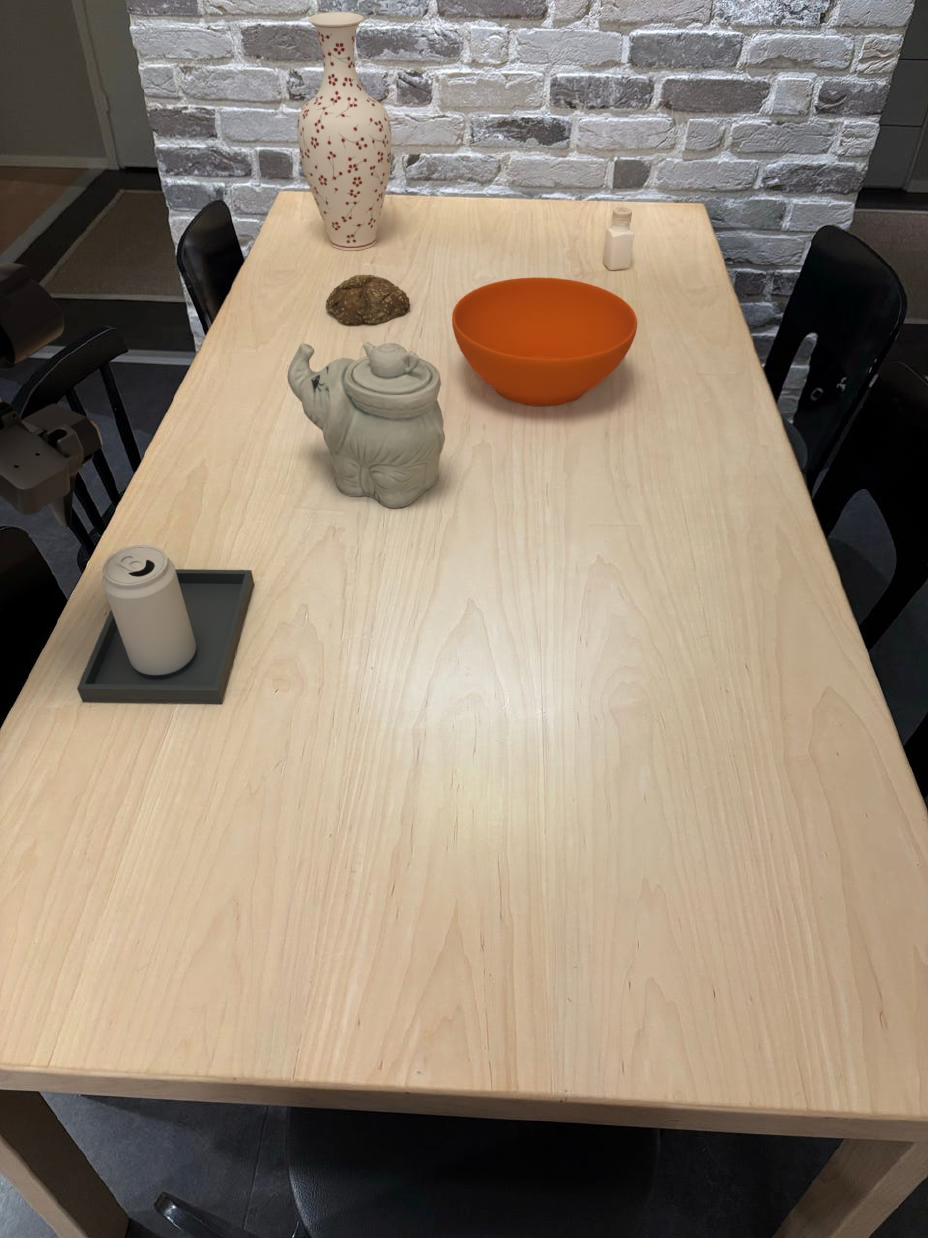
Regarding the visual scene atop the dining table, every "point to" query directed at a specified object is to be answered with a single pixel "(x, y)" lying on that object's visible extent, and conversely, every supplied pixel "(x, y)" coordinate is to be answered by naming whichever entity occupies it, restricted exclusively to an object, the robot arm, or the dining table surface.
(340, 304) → the bread roll
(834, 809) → the dining table surface
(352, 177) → the vase
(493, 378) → the bowl
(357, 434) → the teapot
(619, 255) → the pepper shaker
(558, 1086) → the dining table surface
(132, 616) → the beverage can
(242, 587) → the rectangular tray
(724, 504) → the dining table surface
